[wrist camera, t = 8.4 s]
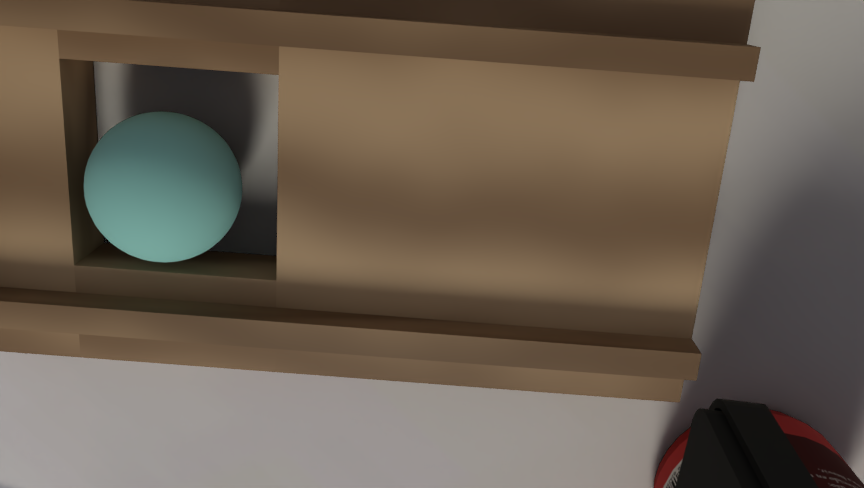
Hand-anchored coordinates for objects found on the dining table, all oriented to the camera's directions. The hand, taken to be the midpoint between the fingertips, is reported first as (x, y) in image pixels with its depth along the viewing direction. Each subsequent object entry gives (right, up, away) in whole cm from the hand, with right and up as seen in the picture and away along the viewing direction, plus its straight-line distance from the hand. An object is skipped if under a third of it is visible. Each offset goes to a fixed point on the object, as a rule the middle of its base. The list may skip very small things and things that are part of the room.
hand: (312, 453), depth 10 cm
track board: (-2, +5, +19) cm, 20 cm away
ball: (-7, +5, +17) cm, 19 cm away
